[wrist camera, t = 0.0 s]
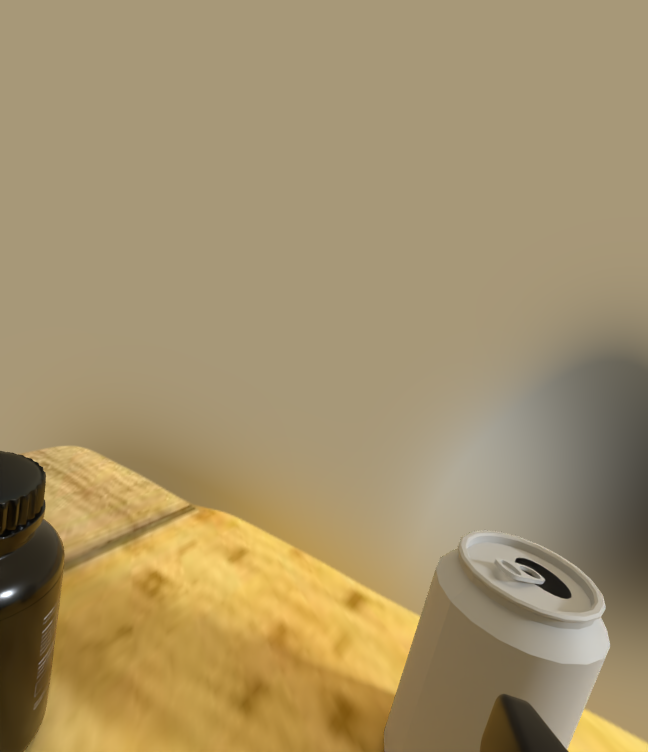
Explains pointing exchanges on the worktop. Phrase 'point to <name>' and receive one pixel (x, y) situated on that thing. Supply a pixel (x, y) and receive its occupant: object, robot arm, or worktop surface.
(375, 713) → the worktop surface
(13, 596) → the supplement bottle
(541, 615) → the can
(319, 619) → the worktop surface
